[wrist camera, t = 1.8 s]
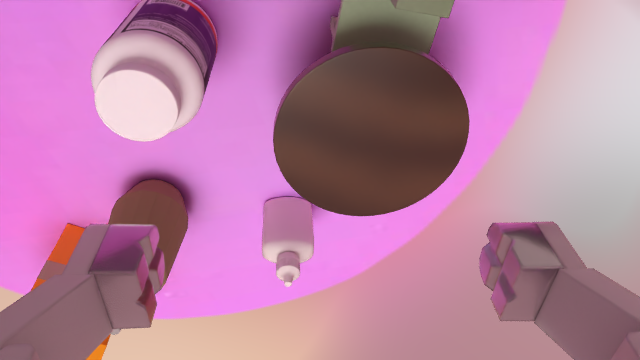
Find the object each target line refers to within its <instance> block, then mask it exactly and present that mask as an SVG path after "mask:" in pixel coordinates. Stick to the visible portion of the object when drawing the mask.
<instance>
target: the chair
mask: <svg viewBox="0 0 640 360" xmlns="http://www.w3.org/2000/svg"><path fill="white" fill-rule="evenodd" d="M454 1H455V0H341V3H340V8H339V13H338V17H333V16H331V21H330V29H331V34H332V38H333V42H332V46H331V52H333V51H335V50H338V49H340V48H343V47H347V46H350V45H353V44H359V43H366V42H391V43H398V44H402V45H406V46H410V47H413V48H415V49H418V50H420V51H422V52H424V53H426V54H429V51H430V48H431V45H432V42H433V39H434V36H435V33H436V30H437V27H438V24H439V21H440V18H441V17H444V18H449V15H450V12H451V9H452V6H453V3H454Z"/></svg>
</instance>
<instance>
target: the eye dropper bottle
mask: <svg viewBox="0 0 640 360" xmlns="http://www.w3.org/2000/svg"><path fill="white" fill-rule="evenodd" d="M313 252H314V236H313V220H312V206H311V203H310V202H308V201H307V200H304V199H301V198H296V197H279V198H274V199H271V200H268V201H267V202H265V204H264V212H263V231H262V255H263V257H264V258H265V259H267V260H269V261H271V262H273V263H276V275H277V277H278V278H279V279H280V280H282V281H284V284H285V286H287V287H289V286H291V285H292V281H294V280H296V279H297V278H298V277H299V275H300V263H302V262H305V261H307V260H309V259H310V258H311V257H312V256H313Z"/></svg>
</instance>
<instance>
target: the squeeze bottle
mask: <svg viewBox="0 0 640 360" xmlns="http://www.w3.org/2000/svg"><path fill="white" fill-rule="evenodd" d="M108 224H111V225H112V224H144V225H155V226H157V228H158V232H159V236H160V238H159V241H158V245H157V246H158V247H159V248H160V249H161V250H162V251H163V255H164V265H165V270H164V280H163V284H162V287H163V286H164V284H165V283H166V281H167V278H168V276H169V273H170V271H171V268H172V266H173V263H174V261H175V258H176V256H177V253H178V251H179V248H180V246H181V243H182V241H183V239H184V236H185V234H186V231H187V229H188V216H187V212H186V208H185V204H184V200H183V198H182V195H181V193H180V191H179V190H178V189H176V188H175V187H174V186H173V185H172V184H169V183H167V182H165V181H162V180H154V179H151V180H146V181H142V182H140V183H139V184H137V185H136V186H134V187H133V188H132V189H130V190H129V191H128V192H127V193H126V194H124V195H123V196H122V197H121V198H119V199H118V200H117V202H116V203H115V205H114V207H113V209H112V212H111V216H110V219H109V223H108ZM161 289H162V288H161ZM112 330H113V332H112V333H111V334H113V335H115V334H118V333H119V332H120V330H121V329H112Z"/></svg>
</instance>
